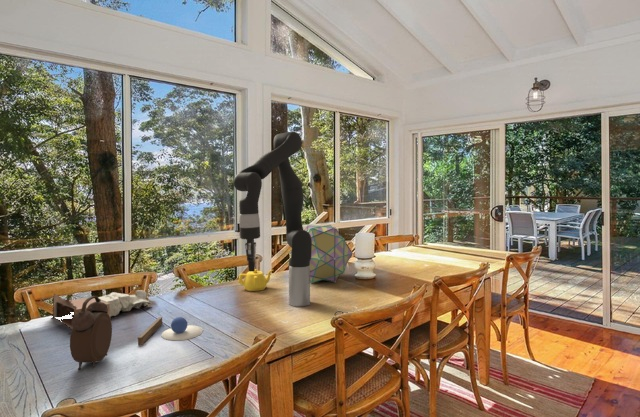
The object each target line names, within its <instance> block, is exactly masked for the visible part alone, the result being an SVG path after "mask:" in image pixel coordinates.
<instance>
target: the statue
mask: <svg viewBox="0 0 640 417" xmlns="http://www.w3.org/2000/svg"><path fill="white" fill-rule="evenodd" d="M147 295H148V294H147V292H146V291H145V290H142V289H140V290H139V289H138V290H135V294H130V295H129V294H127V293H119V292H115V291H114V292H110V293H109V294H106V295H102V296H98V298H99V299H100V300H101V301H100V302H103V303H105V304H106V305H107V307H108V313H107V314H108V315H109V317H110V319H111V317H116V316H118V315H119V314H120V312H122V313H125V312H130V311H131V310H132V309H133V308H137V307H140V306H142V307H147V305H153V303H152V302H151V301H150V300H147ZM88 298H89V297H83V298H76V299H69V298H67V299H65V298H62V297H61V296H60V295H59V294H56V293H53V297H52V299H51V302H52V314H51V317H52V316H53V317H62V316H65V315H68V314H69V315H70V314H71V313H70V312H74V315H75V314H77V313H78V312H80V311H81V310H82V305H83V303H84V301H85V300H86V299H88ZM93 302H96V300H95V298H93V299H91V300H90V301H89V302H88V303H87V306H86V309H85V311H86V310H87V307H88V306H89V304H91V303H93ZM74 315H73V316H74ZM61 321H62V322H63V323H64V324H66V325H67V326H68V328H69V327H70V328H69V329H71V330H72V329H73V327H72V319H63V320H62V319H61ZM63 323H62V324H63ZM64 324H63V325H64ZM66 325H65V326H66ZM67 326H66V327H67ZM67 335H71V332H70V333H67Z"/></svg>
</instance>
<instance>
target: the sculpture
mask: <svg viewBox="0 0 640 417" xmlns="http://www.w3.org/2000/svg"><path fill="white" fill-rule="evenodd" d="M304 230H305V231H307V232H308V233H309V234H310V236H311V240H312V251H311V260H310V285H311V284H314V283H317V282H320V281H324V282H330V283H331V282H332V283H337V280H338V279H339V277H340V276H341V275H344V274H345V271H346V266H347V264H348V263H349V261H350V260H351V257H352V256H353V255H354V252H352V249H351V248H350V247H349V245H348V244H347V242H346V240H345V238H344V237H343V236H342V235H341V233H339V231H338V230H337V228H336V226H334V227H333V226H332V224H329V225H309V224H307V226H306V227H305V229H304ZM291 254H292V249H291V250H290V252H289V255H291Z"/></svg>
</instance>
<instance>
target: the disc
mask: <svg viewBox="0 0 640 417" xmlns="http://www.w3.org/2000/svg"><path fill="white" fill-rule="evenodd" d="M202 333H203V328H202V327H201V326H199V325H198V326H197V325H194V324H193V325H192V324H190V325H188V324H187V328H186V330H185V331H184V332H182V333H175V332H174V331H173V330H172V329H171V327H169V328H168V329H166V330H164V331H162V332H161V338H162V339H164V340H166V341H172V342H173V341H178V342H179V341H186V340H191V339H193V338H196V337H198V336H200V335H201V334H202Z"/></svg>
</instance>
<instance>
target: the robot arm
mask: <svg viewBox="0 0 640 417" xmlns="http://www.w3.org/2000/svg"><path fill="white" fill-rule="evenodd" d="M302 142H303V139H302V137H301V135H300V134H299V133H298V132H296V131H288V132H282V133H278V134H275V136H274V138H273V150H271V151H268V152H267V153H265V154H264V155H261V156H260V157H259V158H257V160H256V161H255V162H254V163H253V164H251V165H250V166H248V167H246V168H243V169H242V170H241V171H239V172H238V173H236V175H235V177H234V178H233V187H234V188H235V189H236V190H237V191H239V192H247V194H246V196H245V197H243V198H241V199H240V200H239V201H238V202H239V203H238V204H239V205H238V207H239V219H238V220H239V221H238V222H239V238H240V239H241V240H246V242H245V244H244V248H245V255H246V256H245V257H246V261H247V264H248V272H249V271H254V270H255V269H256V266H255V261H256V254H257V252H256V251H257V248H256V247H257V242H256V241H255V240H257V239H259V238H260V237H261V222H260V214H259V212H260V211H259V199H260V196H261V192H262V191H261V190H262V186H263V182H262V180H264V179H266V178H267V177H268V176H269V175H270V174H271V173H272V171H274V170H275V169H276V168H278V174H279V180H280V188H281V190H280V191H281V196H282V203H283V210H284V217H285V234H286V236H285V237H286V242H287V244H288V246H289V247H290V248H291V250H292V254H290V258H288V304H289V305H290V306H291V307H305V306H310V305H311V282H310V260H311V251H312V240H311V236H310V234H309V233H308V232H307V231H305V229H304V227H303V226H304V225H303V220H302V212H303V211H302V210H303V208H304V207H303V205H304V191H303V184H302V181H301V179H300V177H299V176H298V174H297V173H296V172H295V171H294V169H293V167H292V166H291V162H290V157H292V156H294V155H295V154H297V153H298V152H300V150H301V149H302V146H303V143H302Z"/></svg>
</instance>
